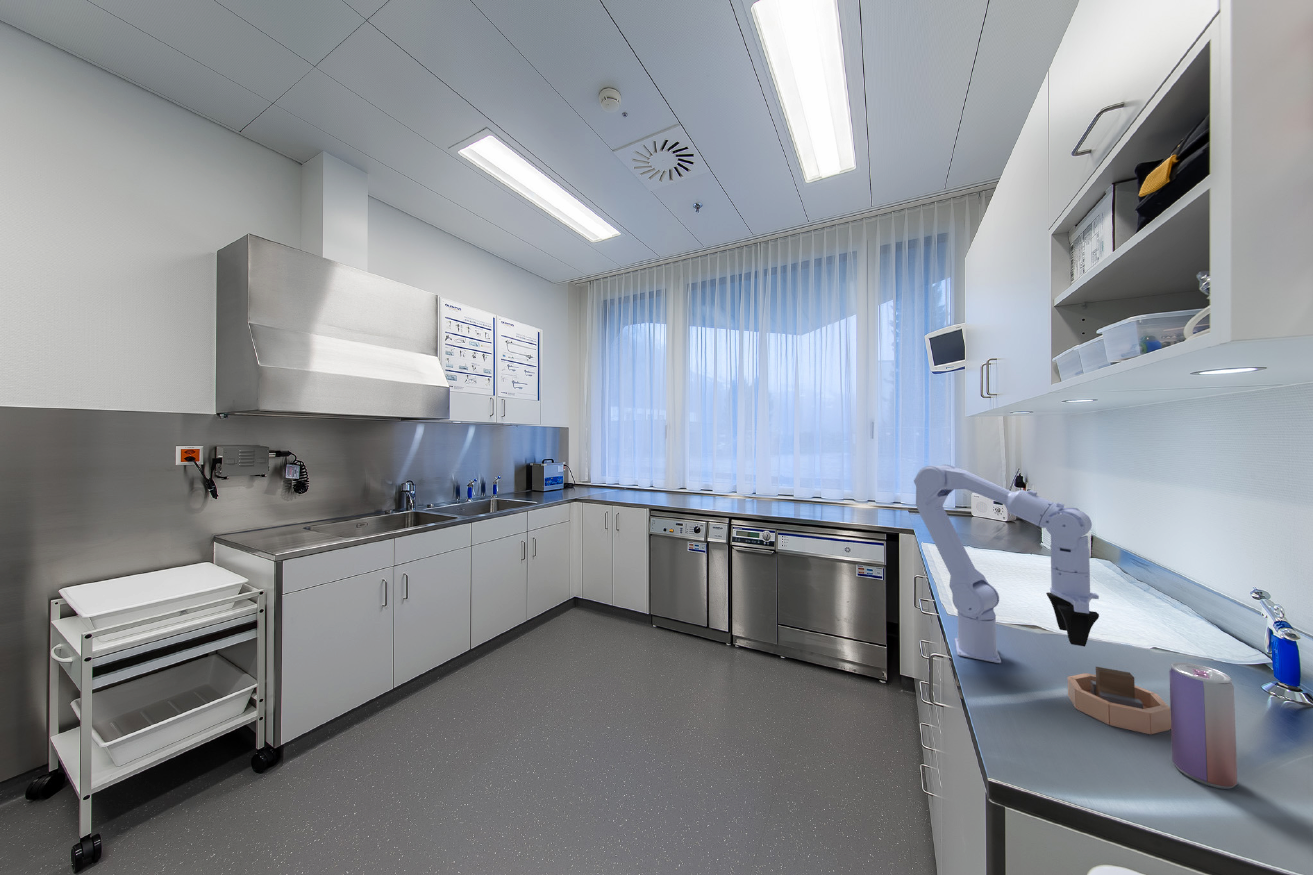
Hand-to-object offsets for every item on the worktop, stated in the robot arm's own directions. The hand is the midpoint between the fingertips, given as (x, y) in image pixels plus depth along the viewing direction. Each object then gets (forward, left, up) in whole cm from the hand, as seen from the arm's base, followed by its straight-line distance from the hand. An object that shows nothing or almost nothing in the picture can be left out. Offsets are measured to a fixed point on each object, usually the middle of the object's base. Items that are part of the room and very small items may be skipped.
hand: (1071, 637), depth 89 cm
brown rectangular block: (+8, +4, -8) cm, 12 cm away
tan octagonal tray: (+8, +4, -9) cm, 13 cm away
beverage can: (+23, +9, -10) cm, 27 cm away
